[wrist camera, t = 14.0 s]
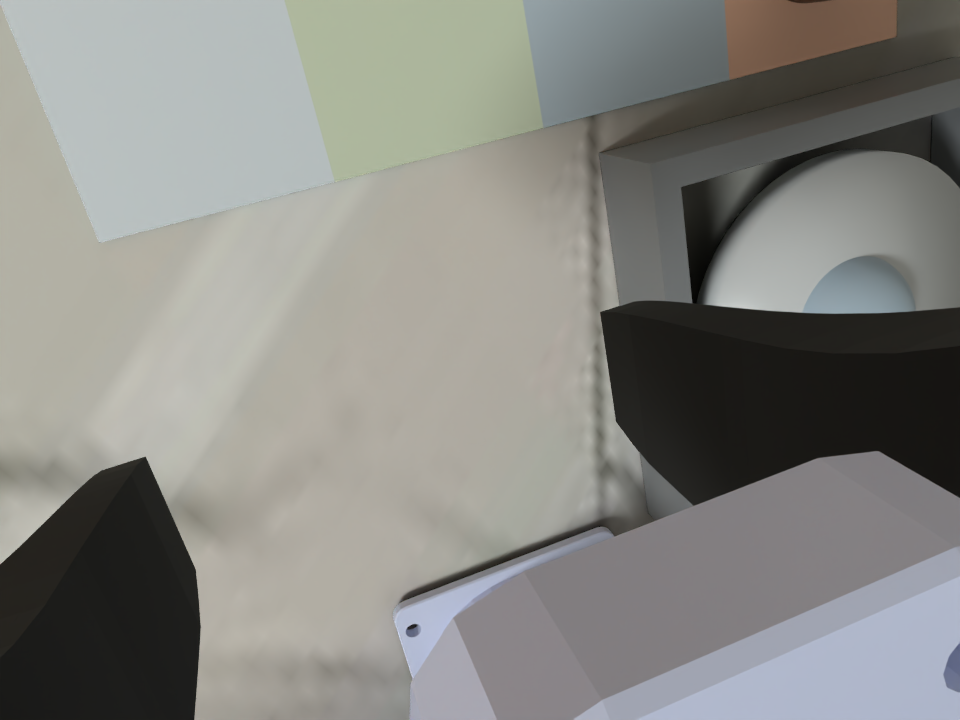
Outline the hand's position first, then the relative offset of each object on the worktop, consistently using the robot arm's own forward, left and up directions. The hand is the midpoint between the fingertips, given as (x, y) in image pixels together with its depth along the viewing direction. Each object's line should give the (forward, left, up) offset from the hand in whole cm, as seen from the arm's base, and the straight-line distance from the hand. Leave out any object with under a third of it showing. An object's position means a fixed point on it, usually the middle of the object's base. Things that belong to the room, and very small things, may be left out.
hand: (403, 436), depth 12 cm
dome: (-5, -15, -10) cm, 19 cm away
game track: (+6, -7, -10) cm, 14 cm away
